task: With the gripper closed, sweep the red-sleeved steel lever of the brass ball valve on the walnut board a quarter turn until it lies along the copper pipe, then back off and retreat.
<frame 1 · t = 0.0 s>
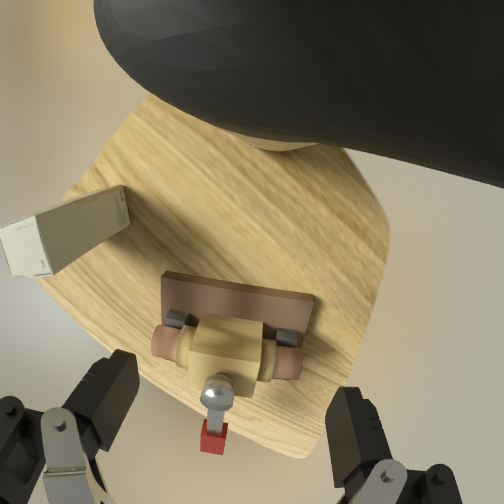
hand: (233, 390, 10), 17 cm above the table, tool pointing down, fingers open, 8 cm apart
valve rig: (232, 327, 29), on the table
valve lever: (215, 420, 22), point 9 cm above the table, hinge at 0.0°
skincare box: (104, 209, 26), on the table
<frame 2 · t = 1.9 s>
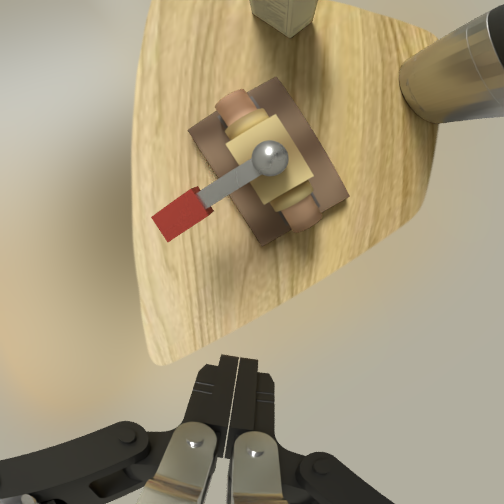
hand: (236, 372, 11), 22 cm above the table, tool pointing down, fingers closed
valve rig: (269, 160, 28), on the table
valve lever: (220, 188, 20), point 9 cm above the table, hinge at 0.0°
skincare box: (280, 16, 23), on the table
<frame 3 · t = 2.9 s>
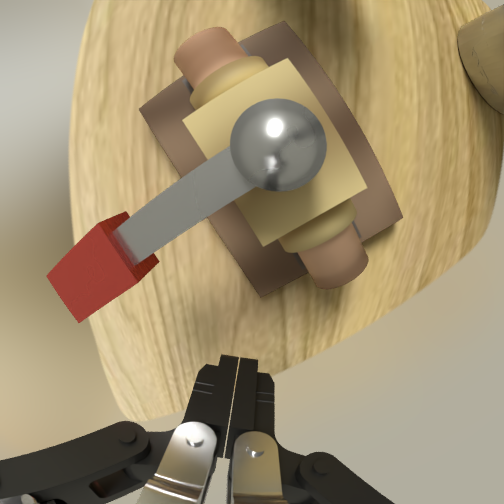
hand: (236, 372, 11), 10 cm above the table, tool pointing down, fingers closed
valve rig: (274, 154, 17), on the table
valve lever: (163, 219, 9), point 9 cm above the table, hinge at 0.0°
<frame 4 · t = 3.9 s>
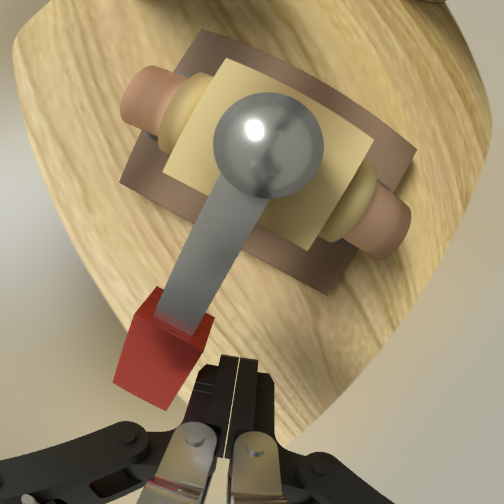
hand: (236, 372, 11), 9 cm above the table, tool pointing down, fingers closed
valve rig: (268, 156, 16), on the table
valve lever: (197, 277, 8), point 9 cm above the table, hinge at 0.0°, touching gripper
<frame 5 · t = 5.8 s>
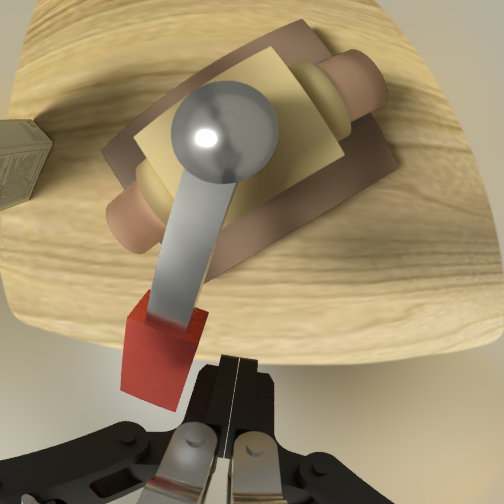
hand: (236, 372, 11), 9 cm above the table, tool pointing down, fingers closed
valve rig: (247, 148, 16), on the table
valve lever: (181, 273, 8), point 9 cm above the table, hinge at 53.2°, touching gripper
skincare box: (30, 161, 16), on the table
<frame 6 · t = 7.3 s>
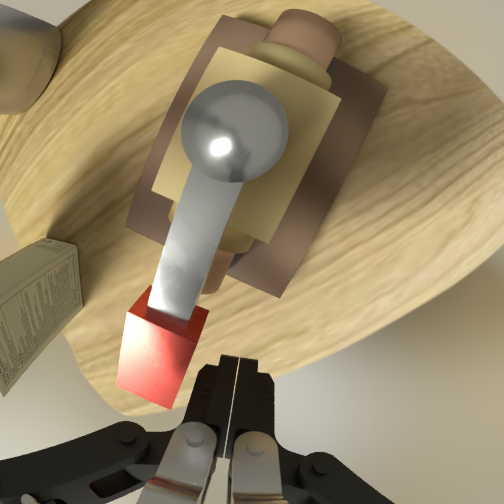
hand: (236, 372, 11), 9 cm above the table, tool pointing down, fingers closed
valve rig: (253, 149, 16), on the table
valve lever: (184, 270, 8), point 9 cm above the table, hinge at 87.7°
skincare box: (65, 273, 20), on the table
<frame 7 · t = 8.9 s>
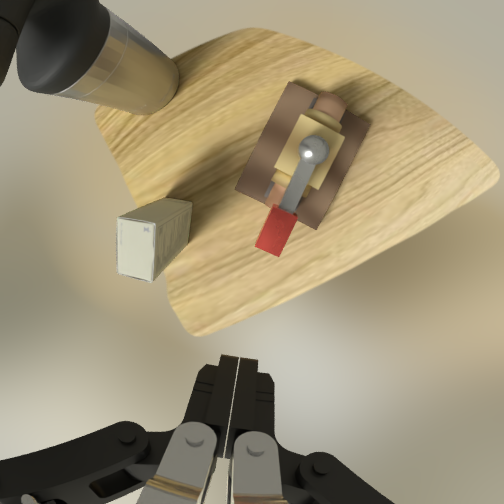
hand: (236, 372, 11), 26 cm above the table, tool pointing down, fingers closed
valve rig: (303, 154, 32), on the table
valve lever: (293, 193, 24), point 9 cm above the table, hinge at 87.7°
skincare box: (176, 221, 36), on the table
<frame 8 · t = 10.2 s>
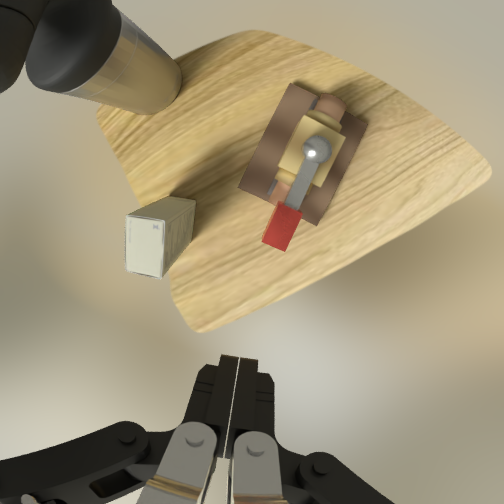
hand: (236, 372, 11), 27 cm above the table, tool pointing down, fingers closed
valve rig: (303, 153, 33), on the table
valve lever: (297, 191, 25), point 9 cm above the table, hinge at 87.7°
skincare box: (180, 220, 37), on the table
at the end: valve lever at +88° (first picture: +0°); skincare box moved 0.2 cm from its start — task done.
